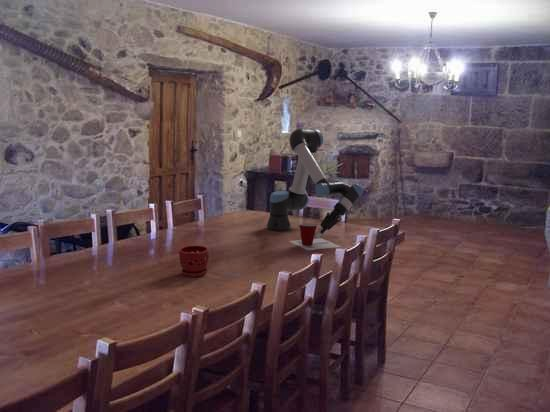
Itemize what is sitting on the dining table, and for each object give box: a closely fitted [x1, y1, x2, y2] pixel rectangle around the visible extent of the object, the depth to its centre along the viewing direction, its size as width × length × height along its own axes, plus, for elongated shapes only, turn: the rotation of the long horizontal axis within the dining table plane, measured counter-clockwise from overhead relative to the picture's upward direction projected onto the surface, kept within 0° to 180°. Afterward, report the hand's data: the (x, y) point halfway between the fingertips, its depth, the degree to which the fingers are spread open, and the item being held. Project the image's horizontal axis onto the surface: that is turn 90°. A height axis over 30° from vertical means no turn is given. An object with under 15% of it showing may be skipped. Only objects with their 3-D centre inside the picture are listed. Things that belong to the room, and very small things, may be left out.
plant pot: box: [178, 244, 210, 278], centre depth 258 cm, size 13×13×12 cm
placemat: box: [288, 237, 342, 251], centre depth 324 cm, size 22×22×1 cm
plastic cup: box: [298, 222, 318, 245], centre depth 321 cm, size 11×11×12 cm
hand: (316, 236), depth 324 cm, fingers closed
